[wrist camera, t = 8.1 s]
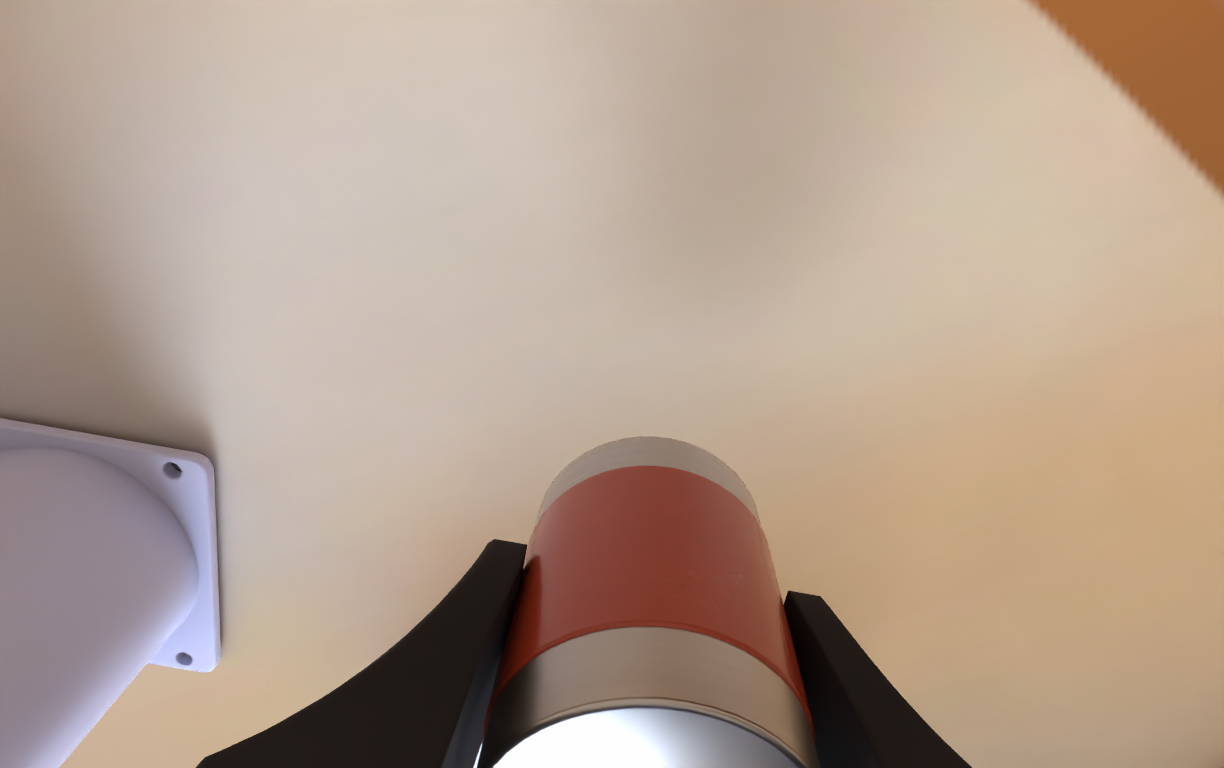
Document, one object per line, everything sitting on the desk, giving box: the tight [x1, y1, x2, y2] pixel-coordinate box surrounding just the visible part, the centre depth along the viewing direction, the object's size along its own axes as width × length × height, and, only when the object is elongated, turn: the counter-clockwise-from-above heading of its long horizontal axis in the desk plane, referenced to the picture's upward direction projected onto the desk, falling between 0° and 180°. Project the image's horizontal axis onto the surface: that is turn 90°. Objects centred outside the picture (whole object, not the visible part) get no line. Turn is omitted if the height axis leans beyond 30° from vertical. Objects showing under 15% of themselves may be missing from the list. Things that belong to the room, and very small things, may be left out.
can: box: [477, 437, 821, 768], centre depth 13 cm, size 5×5×7 cm
